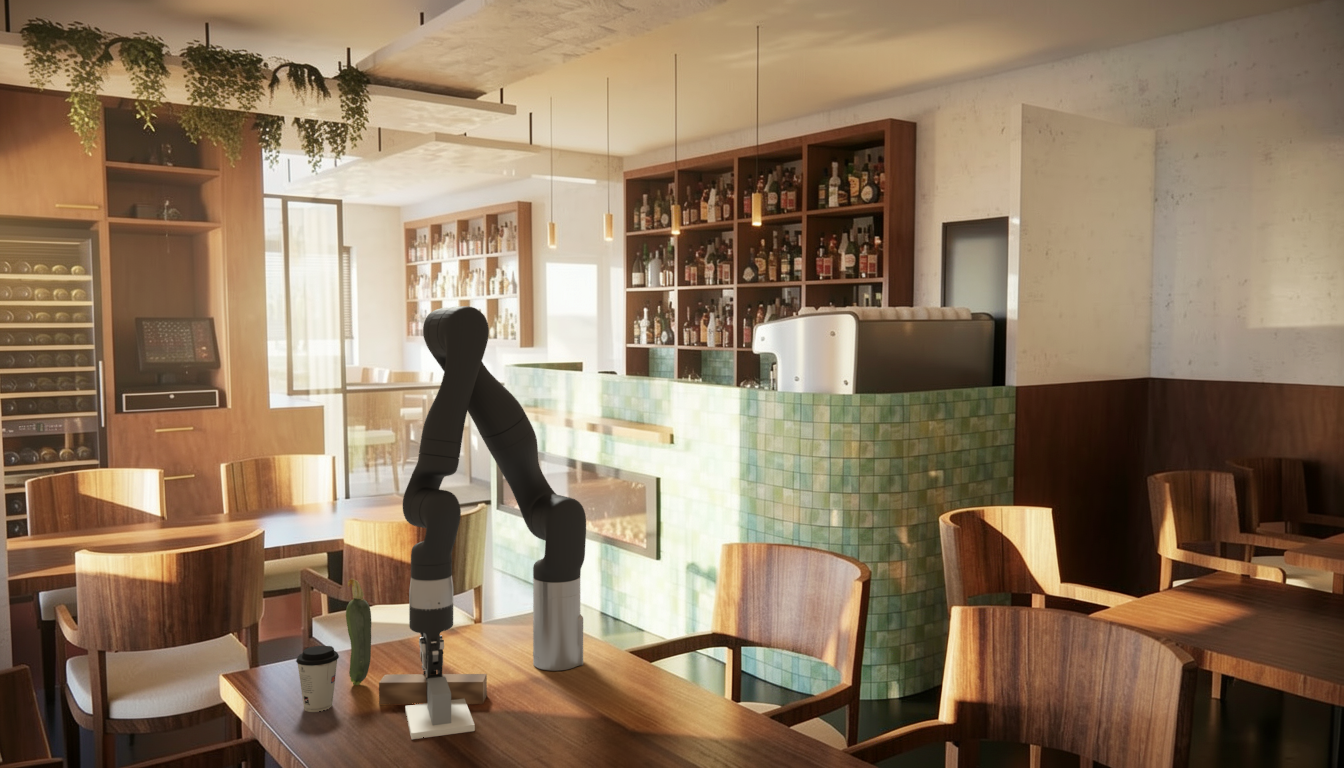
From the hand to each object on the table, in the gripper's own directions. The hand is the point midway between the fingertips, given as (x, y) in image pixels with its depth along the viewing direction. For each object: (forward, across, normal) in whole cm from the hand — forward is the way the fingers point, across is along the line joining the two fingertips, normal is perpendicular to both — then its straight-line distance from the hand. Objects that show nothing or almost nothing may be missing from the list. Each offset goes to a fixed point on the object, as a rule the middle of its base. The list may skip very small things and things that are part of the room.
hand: (431, 696), depth 168 cm
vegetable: (+1, +11, +12) cm, 16 cm away
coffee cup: (+1, +3, +19) cm, 19 cm away
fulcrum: (+1, -10, 0) cm, 10 cm away
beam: (+1, 0, 0) cm, 1 cm away
